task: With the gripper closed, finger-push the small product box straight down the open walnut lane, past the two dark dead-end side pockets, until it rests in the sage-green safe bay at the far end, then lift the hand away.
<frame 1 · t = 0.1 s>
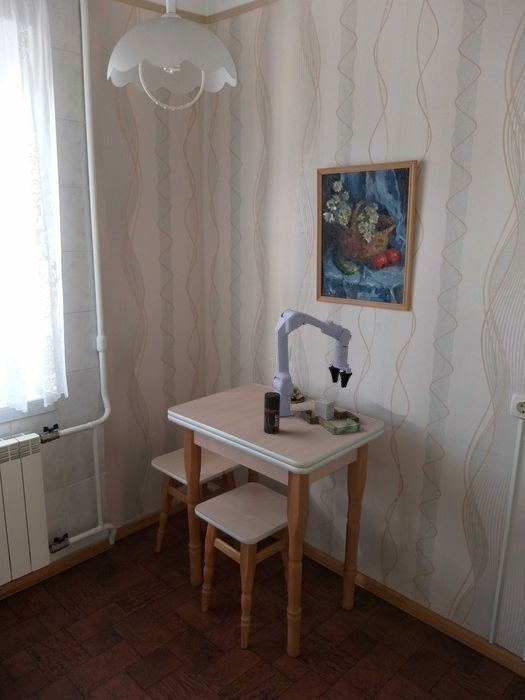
hand: (339, 385, 238), 10 cm above the table, fingers open, 7 cm apart
skull: (291, 400, 249), on the table
deodorant: (271, 431, 210), on the table
product box: (324, 417, 226), on the table
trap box: (330, 421, 222), on the table
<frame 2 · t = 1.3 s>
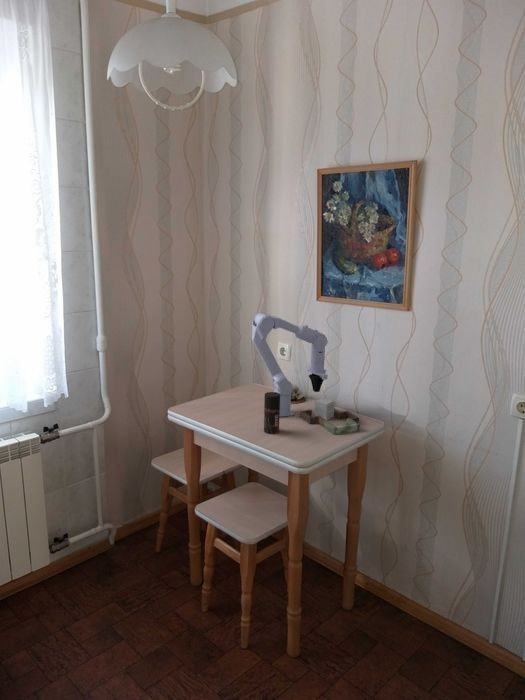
hand: (316, 391, 232), 9 cm above the table, fingers closed
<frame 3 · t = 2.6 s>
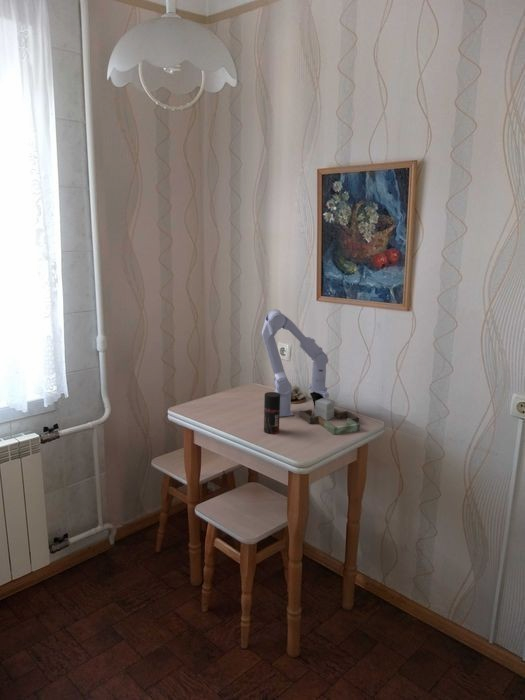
hand: (317, 409, 232), 1 cm above the table, fingers closed
product box: (324, 417, 226), on the table, touching gripper
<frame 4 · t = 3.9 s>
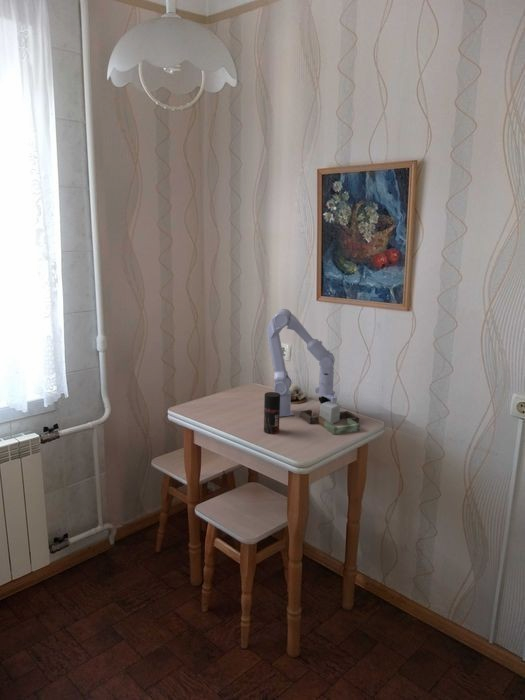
hand: (324, 413, 226), 2 cm above the table, fingers closed, pressing on product box
product box: (329, 421, 222), on the table, touching gripper
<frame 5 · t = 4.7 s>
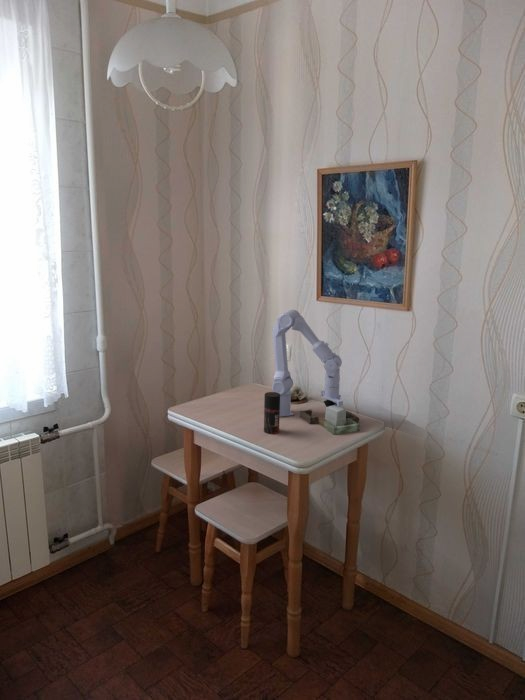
hand: (330, 417, 222), 2 cm above the table, fingers closed, pressing on product box
product box: (334, 425, 218), on the table, touching gripper
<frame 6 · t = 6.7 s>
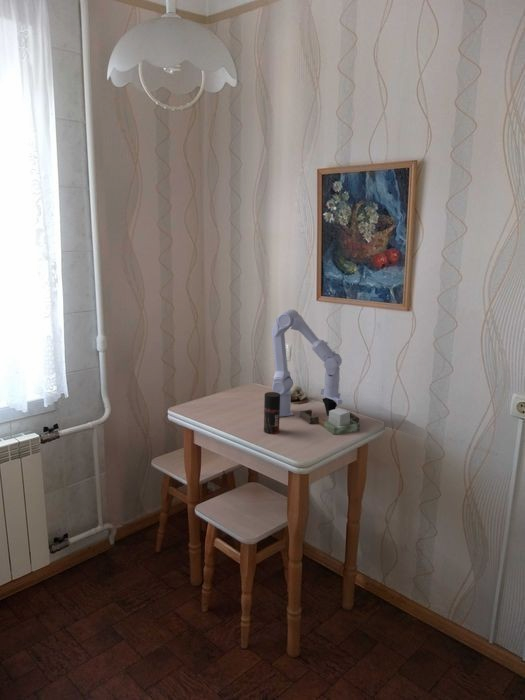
hand: (329, 415, 222), 2 cm above the table, fingers closed
product box: (338, 429, 214), on the table
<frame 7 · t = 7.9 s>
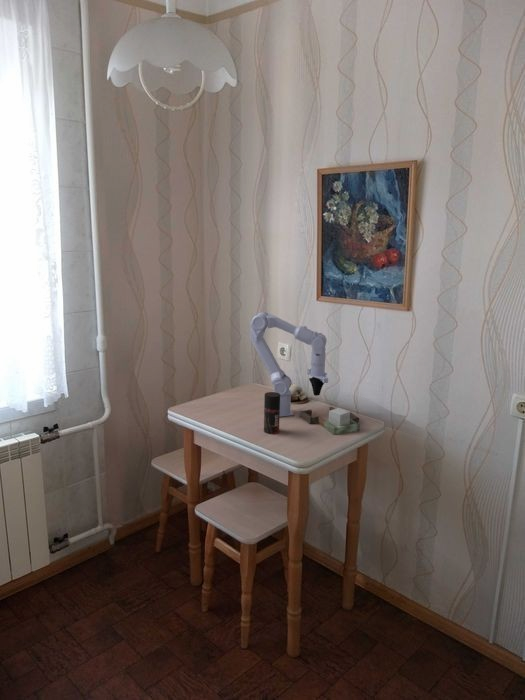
hand: (316, 395, 225), 9 cm above the table, fingers closed
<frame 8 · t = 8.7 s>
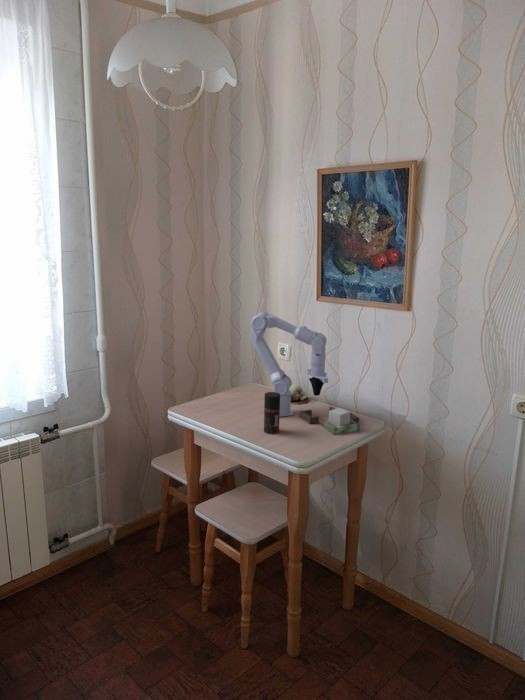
hand: (316, 395, 225), 9 cm above the table, fingers closed
at the end: product box inside the target area (1.0 cm from its centre), on the table; product box tilted 0°; product box touching table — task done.
